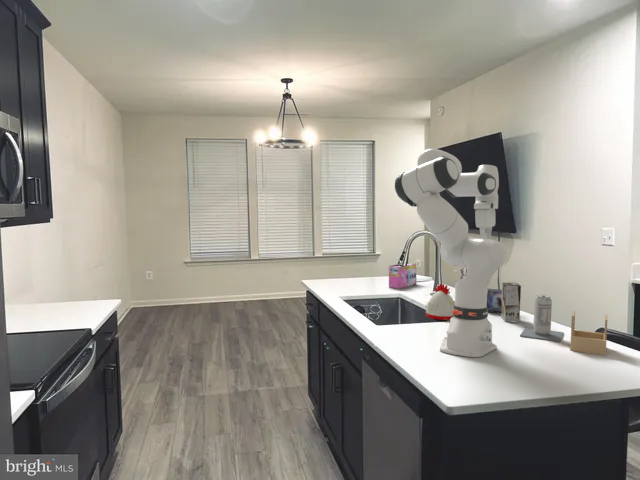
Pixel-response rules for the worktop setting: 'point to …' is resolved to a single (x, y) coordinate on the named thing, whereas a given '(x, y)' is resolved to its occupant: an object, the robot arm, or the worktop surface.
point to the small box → (494, 300)
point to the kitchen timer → (440, 304)
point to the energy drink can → (542, 315)
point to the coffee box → (511, 302)
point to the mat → (551, 337)
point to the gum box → (402, 275)
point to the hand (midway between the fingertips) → (485, 238)
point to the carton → (588, 340)
